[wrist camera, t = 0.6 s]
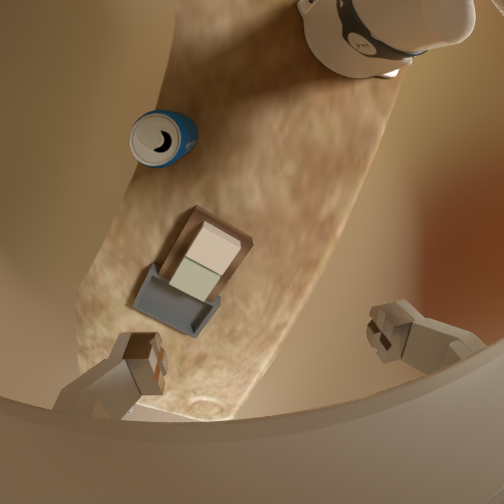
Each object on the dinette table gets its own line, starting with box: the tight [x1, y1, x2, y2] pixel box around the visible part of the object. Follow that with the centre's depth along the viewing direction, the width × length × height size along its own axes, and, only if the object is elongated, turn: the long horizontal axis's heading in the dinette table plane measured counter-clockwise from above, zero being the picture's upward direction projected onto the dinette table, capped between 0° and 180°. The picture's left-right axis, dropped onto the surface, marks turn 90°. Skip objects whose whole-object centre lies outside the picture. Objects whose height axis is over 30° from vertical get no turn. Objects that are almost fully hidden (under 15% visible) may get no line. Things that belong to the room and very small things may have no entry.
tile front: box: [185, 221, 241, 275], centre depth 40 cm, size 5×6×2 cm
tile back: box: [169, 251, 220, 302], centre depth 42 cm, size 5×6×2 cm
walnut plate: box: [158, 205, 253, 302], centre depth 44 cm, size 12×10×3 cm
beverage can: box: [129, 110, 198, 168], centre depth 31 cm, size 6×6×12 cm
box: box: [132, 262, 220, 338], centre depth 47 cm, size 9×13×2 cm
